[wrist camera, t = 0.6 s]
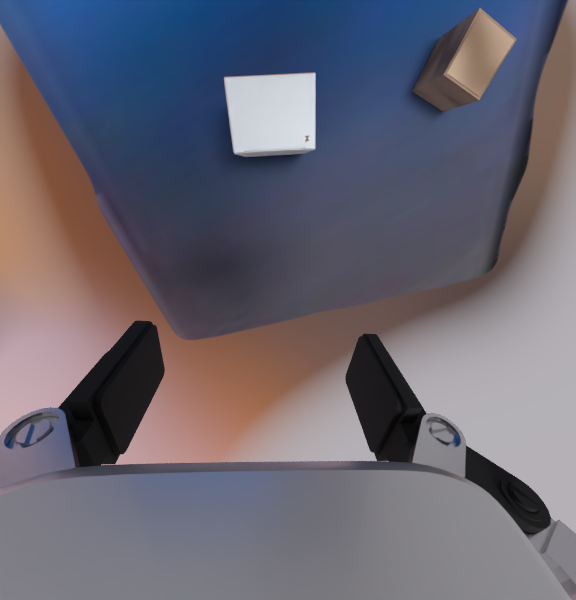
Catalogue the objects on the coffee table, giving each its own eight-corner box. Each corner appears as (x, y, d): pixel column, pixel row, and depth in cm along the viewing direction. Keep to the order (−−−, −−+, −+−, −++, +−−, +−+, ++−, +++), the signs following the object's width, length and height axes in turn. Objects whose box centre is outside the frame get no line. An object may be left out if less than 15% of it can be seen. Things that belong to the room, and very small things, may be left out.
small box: (302, 101, 29) (318, 70, 19) (303, 154, 31) (317, 149, 22) (236, 103, 28) (221, 73, 19) (243, 157, 31) (232, 154, 22)
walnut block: (438, 38, 27) (480, 7, 21) (470, 63, 28) (517, 38, 23) (412, 91, 29) (443, 74, 24) (442, 111, 30) (479, 99, 25)
